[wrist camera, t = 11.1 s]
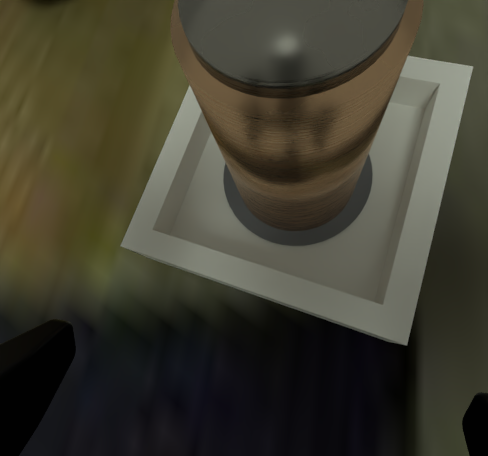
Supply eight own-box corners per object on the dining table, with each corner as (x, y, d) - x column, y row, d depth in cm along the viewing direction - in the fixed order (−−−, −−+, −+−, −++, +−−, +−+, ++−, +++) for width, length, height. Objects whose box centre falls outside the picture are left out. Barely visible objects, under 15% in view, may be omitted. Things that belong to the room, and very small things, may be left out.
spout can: (358, 231, 17) (454, 77, 6) (235, 231, 18) (141, 96, 7) (351, 87, 19) (416, -207, 8) (242, 94, 20) (177, -162, 9)
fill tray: (446, 105, 19) (473, 66, 16) (388, 341, 16) (406, 345, 13) (226, 63, 22) (216, 24, 19) (147, 257, 19) (120, 246, 16)
